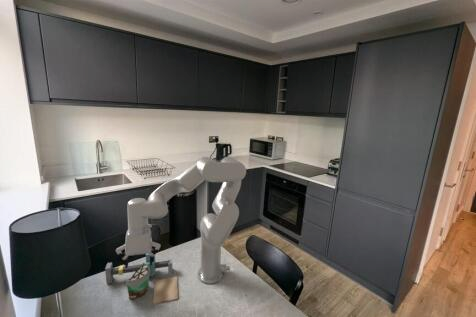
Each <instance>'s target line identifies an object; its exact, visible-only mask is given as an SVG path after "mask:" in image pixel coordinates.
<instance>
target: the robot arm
mask: <svg viewBox="0 0 476 317" xmlns="http://www.w3.org/2000/svg"><path fill="white" fill-rule="evenodd" d="M246 168H247V167H246V166H245V165H244V164H243V163H242V162H240V161H239V160H238V159H235V158H234V157H232V156H224V157H223V158H222V159H221V161H216V160H214V159H213V158H211V157H210V156H209V157H208V156H202V157H201V158H199V159H198V160H197V161H195V162H194V163H192V164H191V165H190V166H189V167H187V169H186V170H184V171H183V172H182V173H181V174H179V175H178V176H177V177H174V178H172V179H170V180H168V181H166V182H164V183H163V184H161V185H160V186H159V187H157V189H155V190H154V191H153V192H151V194H150V195H149V196H148V198H147V200H146V198H143V197H135V198H131V199H130V200H129V201H128V202H127V205H126V206H127V208H126V210H127V231H126V234H125V242H124V244H122V245H121V246H119V247H117V248H116V249H115V252H116V254H117V255H118V257H120V258H121V259H122V260H123V266H124V267H125V268H127V267H128V266H129V257H130V256H138V255H146V254H147V253H148V254H149V255H150V265H152V262H154V255H155V256H156V254H157V253H158V252H159V250H160V248H161V244H160V243H158V242H155V241H153V240H152V231H151V228H152V227H153V226H152V224H150V223H149V219H162V218H164V217H165V216H166V215H168V212H169V207H168V204H167V202H168V201H169V200H171V199H172V198H173V197H174V196H176V195H177V194H181V193H191V192H193V191H194V190H195V189H196V188H197V187H199V185H201V184H202V183H203V182H204V181H207V182H210V183H222V184H221V186H220V189H219V190H218V192H217V194H216V195H215V198H214V200H213V202H212V205H211V206H212V210H213V212H214V213H211V212H210V213H206V214H205V215H204V216H202V218H201V220H200V224H199V227H200V228H199V229H200V268H198V271H197V279H198V280H199V281H201V282H202V283H204V284H211V285H212V284H215V283H218V282H219V281H221V279H222V278H223V276H224V272H225V271H230V270H231V267H230V265H227V264H226V263H223V264H221V263H222V262H221V261H222V258H221V257H222V256H221V254H222V250H221V249H222V245H223V244H224V243H225V242H226V241H227V240H228V238H229V237H230V234H231V233H232V232H233V230H234V227H235V225H236V224H237V222H238V219H239V216H240V209H239V207H238V205H237V204H236V203H235V201H236V199H237V196H238V194H239V192H240V190H241V187H242V180H243V179H244V178H245V177H246V175H247V169H246ZM152 247H154V248H152ZM123 250H124V252H123Z"/></svg>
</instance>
